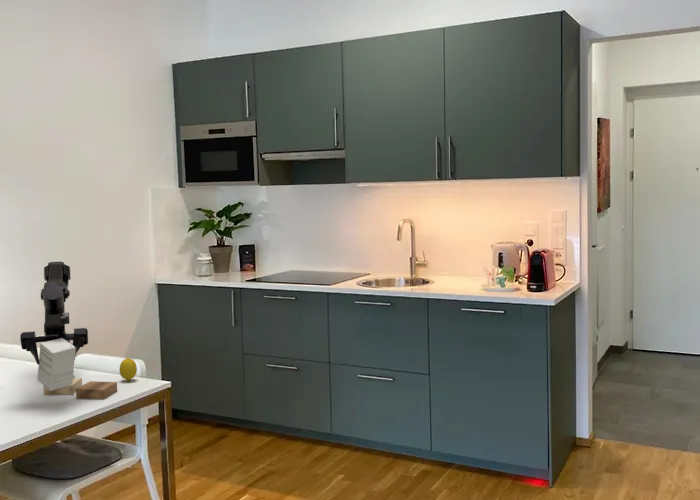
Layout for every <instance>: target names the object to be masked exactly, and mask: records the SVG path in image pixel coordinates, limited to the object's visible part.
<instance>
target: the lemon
mask: <svg viewBox="0 0 700 500" xmlns="http://www.w3.org/2000/svg"><path fill="white" fill-rule="evenodd" d="M137 371H138V368H137V364H136V362H135V360H134V359H132V358H130V357H126V358H125V359H123V360H122V361H121V362H120V365H119V374H120V376H121V378H122V379H124V380H126V381H127V382H130V381H131V380H132V379H133V378H135V376H136V375H137Z"/></svg>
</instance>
